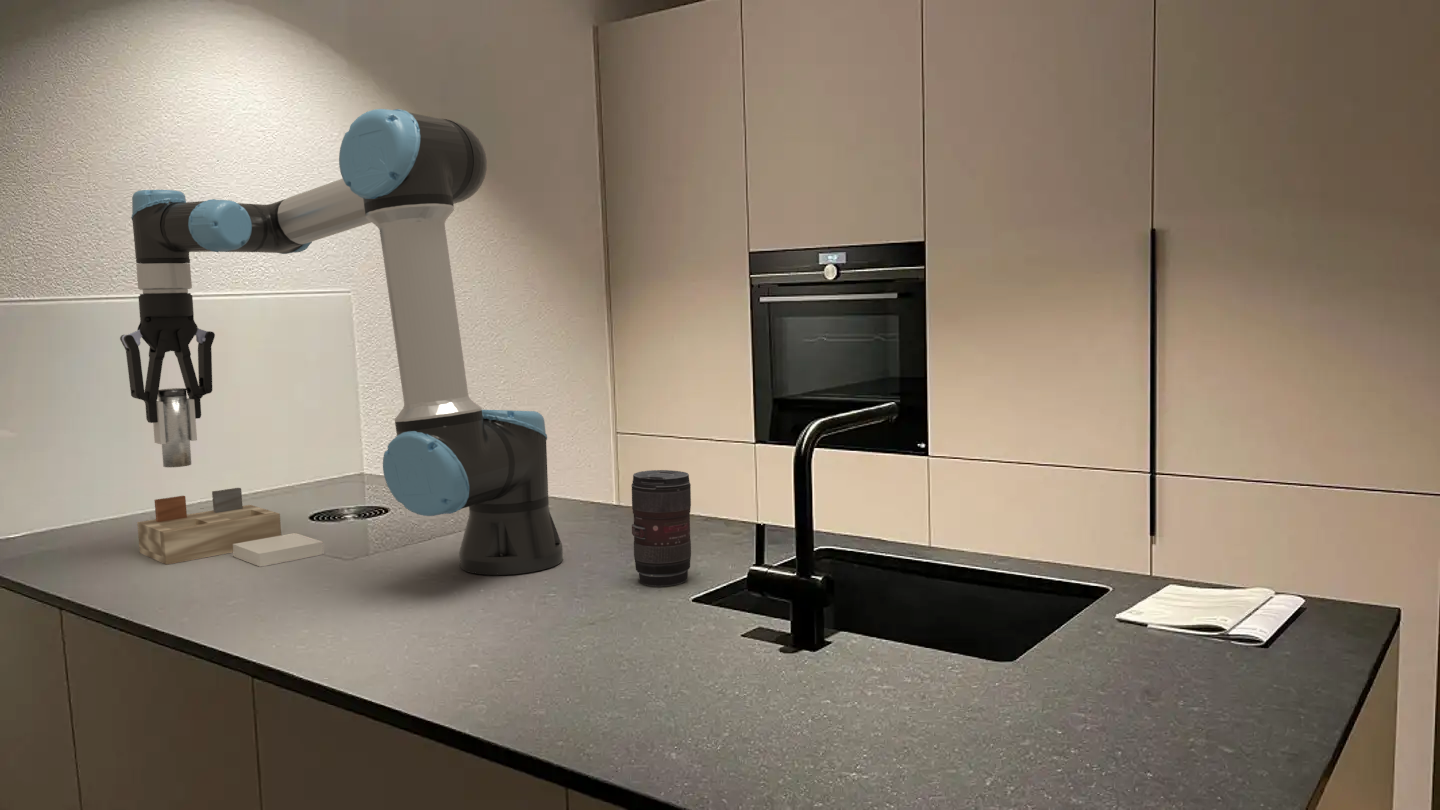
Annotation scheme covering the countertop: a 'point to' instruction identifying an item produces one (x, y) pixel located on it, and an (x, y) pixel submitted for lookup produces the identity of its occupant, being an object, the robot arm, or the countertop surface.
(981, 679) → the countertop surface
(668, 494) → the camera lens
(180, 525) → the socket block
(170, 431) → the shaker with dark cap
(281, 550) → the plate
